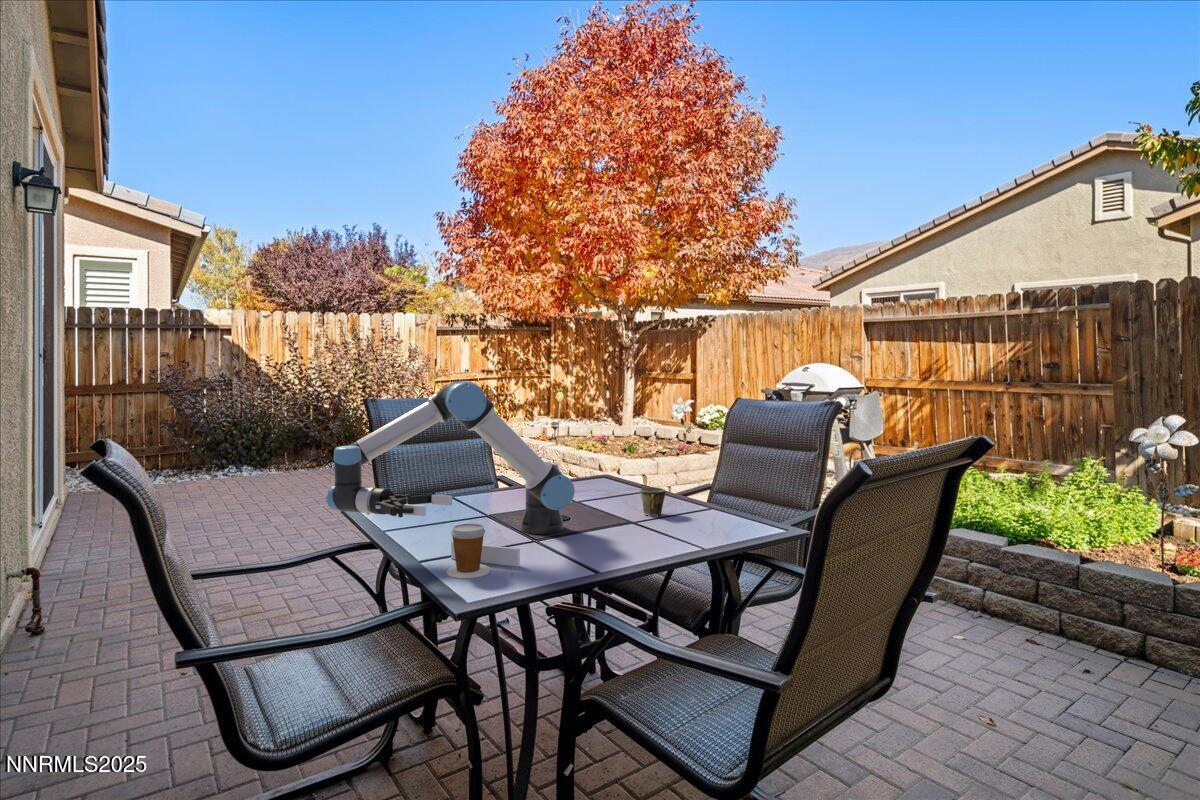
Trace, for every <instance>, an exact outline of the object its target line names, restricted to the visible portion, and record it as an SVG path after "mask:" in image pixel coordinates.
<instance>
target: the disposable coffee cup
mask: <svg viewBox="0 0 1200 800" xmlns="http://www.w3.org/2000/svg"><path fill="white" fill-rule="evenodd" d="M485 533H486V530H485V527H484V525H482V524H478V523H461V524H457V525H455V526H452V528H451V531H450V534H451V537H452V542H453V544H454V552H455V559H454V560H455V566H456V567H457V571H458V572H462V573H471V572H475V571H478V570H479V569H480V564H481V562H480V561H481V553H482V544H483V543H484V536H485ZM483 545H484V544H483Z"/></svg>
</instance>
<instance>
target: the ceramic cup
mask: <svg viewBox="0 0 1200 800" xmlns="http://www.w3.org/2000/svg"><path fill="white" fill-rule="evenodd" d="M666 490H667V489H665V488H663V487H658V486H657V487H655V486H654V487H653V486H646V487H641V488H640V489H639V493H640V498H641V499H640V500H641V503H642V507H643V509H642V510H643V516H645V515H648V516H647V517H649V516H657V515H661V516H662V513H663V512H662V511H663V506H664V500H665V497H666V492H667V491H666Z"/></svg>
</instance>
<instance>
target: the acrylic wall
mask: <svg viewBox="0 0 1200 800" xmlns="http://www.w3.org/2000/svg"><path fill="white" fill-rule="evenodd" d="M450 543H451V544H450V545H451V546H450V547H451V551H450V552H451V556H450V557H451V559H452V560H455V552H454V544H453V541H452V542H450ZM480 563H481V564H482V563H484V564H493V565H501V566H510V567H518V568H519V567H520V566H521V564H520V563H521V548H518V547H509V546H501V545H499V546H498V545H490V544H482V553H481V561H480Z"/></svg>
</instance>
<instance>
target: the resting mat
mask: <svg viewBox="0 0 1200 800" xmlns="http://www.w3.org/2000/svg"><path fill="white" fill-rule="evenodd" d="M490 572H491V568H490V566H488V565H486V564H482V563H480V569H479V570H478V571H475V572H471V573H462V572H458V571H457V567H456V565H453V566H450V567H449V568H447V570H446V575H447V576H448V577H450V578H453V579H459V580H460V579H461V580H464V579H465V580H469V579H478V578H481V577H485V576H487V575H489V574H490Z"/></svg>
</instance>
